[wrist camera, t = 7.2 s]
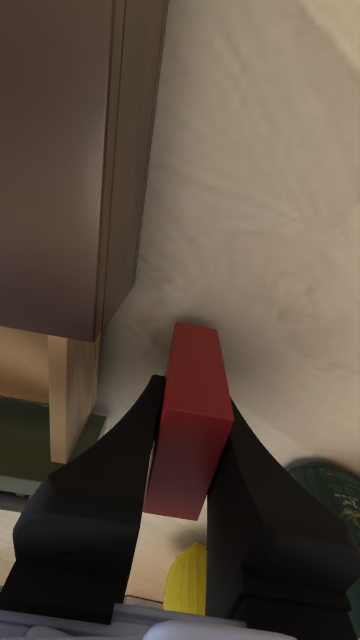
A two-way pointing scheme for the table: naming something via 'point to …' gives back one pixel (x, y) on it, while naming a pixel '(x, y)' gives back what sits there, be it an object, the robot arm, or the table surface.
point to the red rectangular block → (189, 425)
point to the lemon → (187, 582)
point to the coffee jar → (336, 509)
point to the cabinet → (74, 157)
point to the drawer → (44, 409)
